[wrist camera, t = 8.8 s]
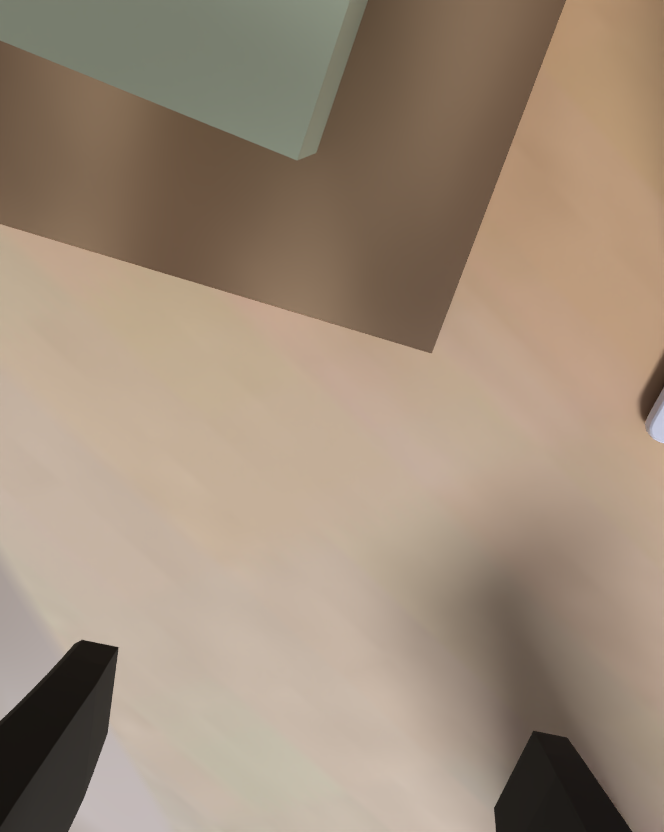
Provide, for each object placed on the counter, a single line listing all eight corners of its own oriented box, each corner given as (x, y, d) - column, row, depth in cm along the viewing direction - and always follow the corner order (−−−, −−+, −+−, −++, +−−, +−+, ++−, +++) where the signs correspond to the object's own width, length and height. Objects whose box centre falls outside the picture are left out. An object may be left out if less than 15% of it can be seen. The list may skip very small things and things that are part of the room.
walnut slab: (611, -207, 14) (677, -294, 11) (419, 320, 18) (431, 353, 15) (49, -427, 12) (-37, -588, 10) (-2, 192, 17) (-69, 203, 14)
